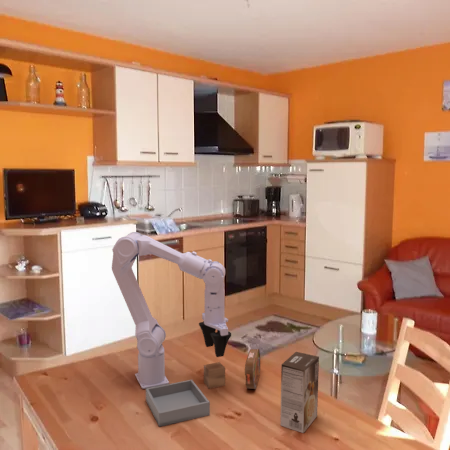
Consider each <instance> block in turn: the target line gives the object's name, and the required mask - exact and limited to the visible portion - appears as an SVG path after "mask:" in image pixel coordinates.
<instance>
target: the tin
mask: <svg viewBox="0 0 450 450" xmlns="http://www.w3.org/2000/svg"><path fill="white" fill-rule="evenodd" d="M260 374H261V351H260V349H259V348H255V349H254V348H251V349H249V351H248V354H247V357H246V359H245V365H244V375H245V387H246V389H248V390H249V389H251V390H252V389H253V390H256V389H257V386H258V383H259V380H260V379H259V378H260V376H261V375H260Z"/></svg>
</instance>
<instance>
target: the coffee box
mask: <svg viewBox="0 0 450 450" xmlns="http://www.w3.org/2000/svg"><path fill="white" fill-rule="evenodd" d="M319 360H320V356H317V355H313V354H309V353H305V352H300V351H295V352H294V353H293V354H291V356H289V357H288V358H287V359H285V361H284V362H283V363H281V370H280V371H281V372H280V373H281V374H280V375H281V379H280V381H281V382H280V426H281V427H284V428H287V429H289V430H291V431H292V430H293V431H296V432H299V433H301V434H304V433H305V432H306V431H307V429H308V428H309V427H310V426H311V425H312V424H313V422H314V421H315V419H317V417H318V407H319V405H318V403H319V401H318V398H319V368H320V367H319V362H320V361H319Z"/></svg>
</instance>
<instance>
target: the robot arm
mask: <svg viewBox="0 0 450 450" xmlns="http://www.w3.org/2000/svg"><path fill="white" fill-rule="evenodd" d="M111 250H112V262H111V271H112V274H113V276H114V279H115V281H116V283H117V286H118V288H119V290H120V292H121V295H122V297H123V299H124V301H125V304H126V306H127V308H128V311H129V314H130V316H131V318H132V320H133V322H134V325H135V332H134V333H135V339H136V343H137V344H136V347H137V351H138V353H137V367H138V368H137V369H138V370H137V373H134V375H135V378H136V379H137V382H138V384H139V385H140V388H141V389H145V390H146V389H147V388H152V387H157V386H162V385H167V384H170V381H169V380H168V378H167V376H166V374H165V373H166V372H165V370H166V368H165V364H166V363H165V348H164V345H163V343H164V341H165V340H166V337H167V336H166V335H167V334H166V331H165V329H164V327H162V326H161V325H160V324H159V322H158V319H156V318H155V317H154V316H153V315H152V313H151V311H150V308H149V306H148V304H147V301H146V299H145V296H144V294H143V292H142V289H141V287H140V284H139V282H138V280H137V278H136V276H135V272H134V271H133V266H134V263H135V261H136V259H137V257H141V256H148V255H153V256H156V257H158V258H160V259H164V260H166V261H169V262H171V263H174V264H176V265H177V266H178V268H179V270H180V271H182V272H183V273H186V274H188V275H191V276H193V277H195V278H197V279H198V280H199V279H200V280H203V282H204V312H202V314H201V316H202V317H201V320H202V321H200V322H199V323H198V326H199V328H200V329H201V332H202V335H203V340H204V344H205V347H206V348H210V347H213V348H214V355H215V356H216V358H220V357H224V355H225V352H226V348H227V345H228V342H229V340H230V339H231V337H232V332H231V331H229V328H228V326H227V323H228V322H229V318H227V317H226V316H225V315H226V312H225V311H226V310H225V309H226V307H225V306H226V305H225V301H226V300H225V299H226V297H225V295H226V293H225V292H226V291H225V276H226V268H225V266H224V265H223V264H222V263H220V262H219V261H217V260H216V261H213V260H212V259H211V258H209V259H206V258H205V257H202V256H200V255H197V253H198V252H196V251H192V252H190V251H187V252H183V253H182V252H181V251H179V250H176V249H174V248H172V247H170V246H168V245H166V244H165V243H162V242H160V241H159V240H156V239H154V238H152V237H150V236H148V235H146V234H142V233H140V232H137V231H132V232H130V233H128V234H127V235H125V236H122V237H120V238H118V240H116V242H115V244H114V245H113V247H112V249H111Z"/></svg>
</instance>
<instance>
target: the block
mask: <svg viewBox="0 0 450 450" xmlns="http://www.w3.org/2000/svg"><path fill="white" fill-rule="evenodd" d="M203 383H204V385H205V386H206V387H207V389H208V390H209V389H214V388H220V387H224V386H226V367H225V366H224V365H223V364H222V363H221V361H217V362H213V363H212V362H211V363H206V364H203Z"/></svg>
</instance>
